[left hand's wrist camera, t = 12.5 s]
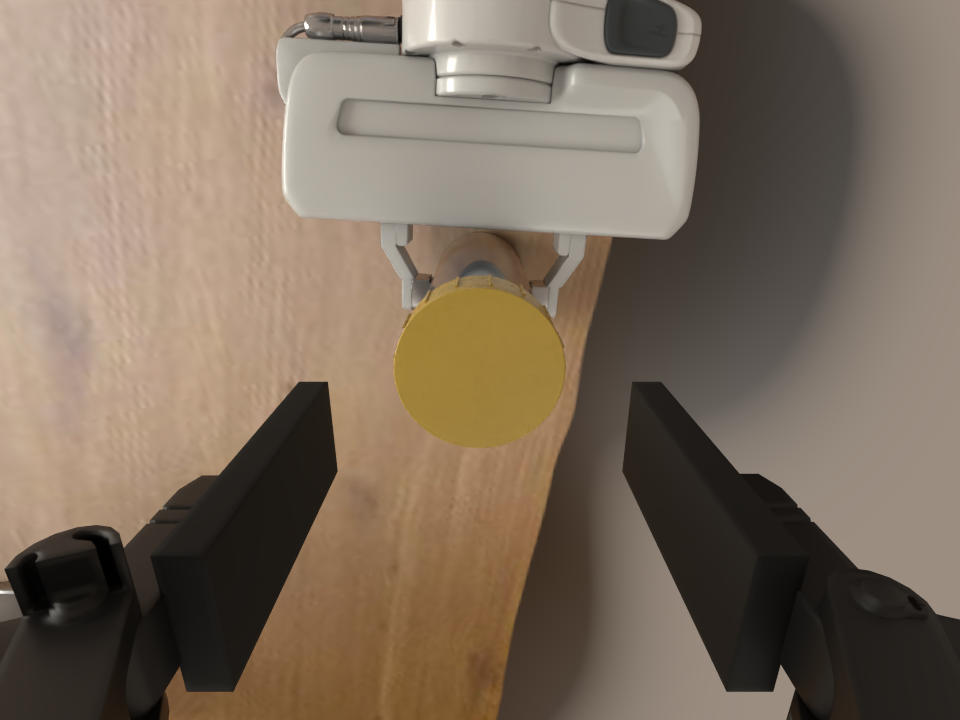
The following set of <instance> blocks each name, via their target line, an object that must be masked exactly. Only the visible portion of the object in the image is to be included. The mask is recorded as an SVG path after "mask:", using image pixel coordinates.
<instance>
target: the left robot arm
mask: <svg viewBox="0 0 960 720" xmlns="http://www.w3.org/2000/svg"><path fill="white" fill-rule="evenodd" d="M337 471H338V470H337V461H336V452H335V443H334V434H333V425H332V416H331V407H330V398H329V388H328V382H298V384H297V385H296V386H295V387H294V388H293V390H292V391H291V392H290V393H289V394H288V395H287V397H286V398H285V399H284V400H283V401H282V402H281V404H280V405H279V406H278V407H277V408H276V409H275V411H274V412H273V413H272V414H271V415H270V416H269V418H268V419H267V420H266V421H265V422H264V423H263V425H262V426H261V427H260V428H259V429H258V430H257V432H256V433H255V434H254V435H253V436H252V437H251V439H250V440H249V441H248V442H247V443H246V445H245V446H244V447H243V448H242V449H241V450H240V452H239V453H238V454H237V455H236V456H235V457H234V459H233V460H232V461H231V462H230V463H229V464H228V466H227V467H226V468H225V469H224V470H223V471H222V473H221V474H220V475H219V476H200V477H199V478H197V479H196V480H194V481H192V482H191V483H189V484H187V485H186V486H184V487H183V488H181V489H179V490H178V491H177V492H176V493H175V494H174V495H173V496H172V498H171V499H170V500H169V501H168V502H167V503H166V504H165V505H164V506H163V510H159V511H158V512H157V513H156V515H155V516H154V517H153V518H152V519H151V520H150V524H146V525H145V526H144V527H143V528H142V529H141V530H140V531H139V533H138V534H137V535H136V536H135V537H134V538H133V539H132V540H131V541H130V542H129V543H128V544H127V545H126V546H125V547H124V548H123V545H122V541H121V538H120V534H119V533H118V532H117V531H115V530H114V529H113V528H111V527H106V526H99V525H93V526H85V527H77V528H73V529H70V530H67V531H63V532H60V533H57V534H54V535H52V536H50V537H48V538H46V539H43V540H41V541H39V542H37V543H35V544H33V545H32V546H30V547H29V548H27V549H26V550H24V551H23V552H21V553H20V554H19V555H17V556H16V557H15V558H14V559H13V560H12V561H11V562H10V564H9V565H8V566H7V567H6V568H5V572H6V575H7V577H8V580H9V581H8V582H0V720H168V718H169V705H168V699H167V695H166V692H165V690H166V688H167V686H168V685H169V683H170V681H171V680H172V678H173V676H174V675H175V673H176V671H177V670H178V668H179V666H180V668H181V672H182V676H183V679H184V683H185V687H186V690H187V692H233V691H234V689H235V687H236V685H237V683H238V681H239V679H240V677H241V674H242V672H243V670H244V668H245V666H246V664H247V662H248V660H249V657H250V655H251V653H252V651H253V649H254V647H255V645H256V643H257V641H258V638H259V636H260V634H261V632H262V630H263V628H264V626H265V624H266V622H267V619H268V617H269V615H270V613H271V611H272V609H273V607H274V605H275V603H276V600H277V598H278V596H279V594H280V592H281V590H282V588H283V586H284V583H285V581H286V579H287V577H288V575H289V573H290V571H291V569H292V567H293V564H294V562H295V560H296V558H297V556H298V554H299V552H300V550H301V548H302V545H303V543H304V541H305V539H306V537H307V535H308V533H309V531H310V529H311V526H312V524H313V522H314V520H315V518H316V516H317V514H318V512H319V509H320V507H321V505H322V503H323V501H324V499H325V497H326V495H327V493H328V490H329V488H330V486H331V484H332V482H333V480H334V478H335V476H336V474H337ZM623 474H624V476H625V478H626V480H627V482H628V484H629V486H630V488H631V490H632V492H633V495H634V497H635V499H636V501H637V503H638V505H639V507H640V509H641V512H642V514H643V516H644V518H645V520H646V522H647V524H648V526H649V529H650V531H651V533H652V535H653V537H654V539H655V541H656V543H657V545H658V548H659V550H660V552H661V554H662V556H663V558H664V560H665V562H666V564H667V566H668V569H669V571H670V573H671V575H672V577H673V579H674V581H675V583H676V586H677V588H678V590H679V592H680V594H681V596H682V598H683V600H684V603H685V605H686V607H687V609H688V611H689V613H690V615H691V617H692V619H693V622H694V624H695V626H696V628H697V630H698V632H699V634H700V636H701V638H702V641H703V643H704V645H705V647H706V649H707V651H708V653H709V655H710V657H711V660H712V662H713V664H714V666H715V668H716V670H717V672H718V674H719V677H720V679H721V681H722V683H723V685H724V687H725V689H726V691H727V692H773V690H774V687H775V683H776V679H777V676H778V672H779V668H780V665H782V667H783V669H784V670H785V672H786V674H787V675H788V677H789V678H790V680H791V682H792V683H793V685H794V687H795V688H796V689H795V692H794V696H793V699H792V702H791V706H790V709H789V713H788V716H787V719H786V720H960V620H959V619H955V618H950V617H946V616H941V615H938V614H936V613H935V612H934V611H933V609H932V608H931V607H930V606H929V604H928V603H927V602H926V601H925V600H924V599H923V598H921V597H920V596H919V595H918V594H916V593H915V592H914V591H913V590H911V589H910V588H908V587H906V586H904V585H903V584H901V583H899V582H897V581H895V580H893V579H891V578H889V577H886V576H884V575H881V574H877V573H875V572H872V571H868V570H861V569H858V568H857V567H856V566H855V565H854V564H853V563H852V562H851V561H850V560H849V559H848V557H847V556H846V555H845V554H844V553H843V552H842V551H841V550H840V549H839V548H838V547H837V546H836V545H835V544H834V543H833V542H832V541H831V540H830V539H829V537H828V536H827V535H826V534H825V533H824V532H823V531H822V530H821V529H820V528H819V527H818V526H817V525H816V524H815V523H814V522H811V520H810V517H809V516H808V515H807V514H806V513H805V512H804V511H803V510H802V509H801V508H798V507H797V504H796V503H795V502H794V501H793V500H792V498H791V497H790V496H789V495H788V494H787V493H786V492H785V491H784V490H783V489H782V488H781V487H779V486H777V485H776V484H774V483H773V482H771V481H769V480H768V479H766V478H764V477H763V476H761V475H759V474H739V473H738V471H737V470H736V469H735V468H734V467H733V466H732V464H731V463H730V462H729V461H728V460H727V459H726V457H725V456H724V455H723V454H722V453H721V452H720V450H719V449H718V448H717V447H716V446H715V445H714V443H713V442H712V441H711V440H710V439H709V437H708V436H707V435H706V434H705V433H704V432H703V430H702V429H701V428H700V427H699V426H698V425H697V423H696V422H695V421H694V420H693V419H692V418H691V416H690V415H689V414H688V413H687V412H686V411H685V409H684V408H683V407H682V406H681V405H680V404H679V402H678V401H677V400H676V399H675V398H674V397H673V395H672V394H671V393H670V392H669V391H668V390H667V388H666V387H665V386H664V385H663V384H662V382H632V388H631V398H630V407H629V416H628V426H627V434H626V443H625V452H624V462H623Z"/></svg>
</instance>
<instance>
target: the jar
mask: <svg viewBox="0 0 960 720" xmlns="http://www.w3.org/2000/svg"><path fill="white" fill-rule="evenodd" d="M489 274H492V277H498V278H501V279H505V280H508V281H510V282H513V283H515V284H517V285H520V284H521V285H523V288H524V289H525V290H527V291H528V292H529V293H531V294H532V295H533V296H534V297H535V295H534V292H533V290H532V288H531V286H530V283H529V281H528V279H527V276H526V274H525V272H524V269H523V267H522V265H521V263H520V260H519V258H518V256H517V254H516V252H515V250H514V249H513V248H512V246H511V245H510V244H509V243H508V242H506V241H505V240H504V239H502V238H501V237H499V236H497V235H494V234H491V233H486V232H474V233H469V234H466V235H463V236H461V237H459V238H458V239H456V240H455V241H454V242H452V243H451V244H450V245H449V246H448V248H447V249H446V250H445V252H444V254H443V256H442V258H441V260H440V262H439V265H438V267H437V269H436V271H435V274H434V276H433V278H432V280H431V283H430V285H429V287H428V289H427V292H428V291H429V290H430V291H433V290H434V289H436V288H437V287H439V286H441V285H442V284H444V283H447V282H449V281H452V280H454V279H456V277H458V276H459V277H460V278H462V277H467V276H489ZM427 292H426V294H425V296H426V295H427ZM425 296H424V297H425ZM535 298H536V297H535Z"/></svg>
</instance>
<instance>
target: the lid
mask: <svg viewBox="0 0 960 720" xmlns="http://www.w3.org/2000/svg"><path fill="white" fill-rule="evenodd" d="M550 318H551V316H550V314H549V312H548V310H547V308H546V306H545V305H543V306H542V305H541V303H540V302H539V301H538V300H537V299H536V298H535V297H534V296H533V295H532V294H531V293H529V292H528V291H527V290H525V289H524V288H523V285H521V284H520V285H517V284H515V283H513V282H510V281H508V280H505V279H501V278H498V277H492V274H489V276H467V277H462V278H460V277H459V276H458V277H456V279H454V280H452V281H449V282H447V283H444V284H442V285H441V286H439V287H437V288H436V289H434V290H433V291H430V290H429V291H428V292H427V295H426V296H425V297H424V298H423V299H422V300H421V301H420V302H419V304H418V305H417V306H416V308H415V309H414V310H413V312H412V314H409V315H408V317H407V319H406V321H405V323H404V325H403V327H402V328H404V330H403V332H402V334H401V336H400V339H399V341H398V344H397V347H396V352H395V354H394V379H395V383H396V388H397V391H398V394H399V397H400V399H401V401H402V403H403V405H404V407H405V408H406V410H407V411H408V412H409V414H410V415H411V416H412V418H413V419H414V420H415V421H416V422H417V423H418V424H419V425H420V426H421V427H423V428H424V429H425V430H426V431H428V432H429V433H431V434H432V435H434V436H436V437H438V438H440V439H442V440H444V441H446V442H449V443H452V444H455V445H459V446H464V447H472V448H487V447H496V446H500V445H504V444H508V443H510V442H513V441H516V440H518V439H520V438H522V437H524V436H526V435H527V434H529V433H530V432H532V431H533V430H534V429H536V428H537V427H538V426H539V425H540V424H541V423H542V422H543V421H544V420H545V419H546V418H547V417H548V416H549V414H550V413H551V411H552V410H553V409H554V407H555V405H556V403H557V401H558V399H559V397H560V395H561V392H562V389H563V385H564V380H565V370H566V365H565V355H564V351H563V348H564V344H563V342H562V340H561V338H560V336H559V334H558V332H557V331H556V329H555V327H554V325H553V323H552V321H551V319H550Z"/></svg>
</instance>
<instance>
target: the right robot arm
mask: <svg viewBox="0 0 960 720" xmlns="http://www.w3.org/2000/svg"><path fill="white" fill-rule="evenodd" d="M701 29H702V25H701V19H700V17H699V15H698V14H697V13H696V12H695V11H694V10H693V9H691V8H690V7H688V6H686V5H684V4H682V3H680V2H678V1H675V0H402V15H401V17H398V18H396V17H380V16H362V17H361V16H356V17H355V16H354V17H342V16H335V15H334V14H331V13H323V12H318V13H310V14H306V15H305V18H304V22H299V23H296V24H294V25H292V26H291V27H289V28H288V29H287V30H286V31H285V33H284V34H283V35H282V37H281V38H280V40H279V42H278V45H277V49H276V63H277V78H278V88H279V93H280V96H281V99H282V101H283V103H284V104H285V106H286V107H285V116H284V126H283V141H282V190H283V195H284V198H285V199H286V201H287V202H288V203H289V205H290V206H291V207H292V209H293V210H294V211H295V212H296V213H297V215H298V216H300V217H302V218H314V219H330V220H347V221H363V222H380V223H381V246H382V248H383V250H384V252H385V253H386V255H387V257H388V259H389V260H390V262H391V264H392V265H393V267H394V269H395V271H396V272H397V274H398V276H399V278H402V308H403V309H405V310H414V309H415V308H416V306H417V305H418V304H419V302H420V301H421V300H422V299H423V298H424V296H425V294H426V292H427V289H428V287H429V285H430V283H431V280H432V274H422V273H418V272H417V270H416V268H415V266H414V264H413V262H412V260H411V258H410V256H409V254H408V252H407V250H406V248H405V247H404V246H406V245H407V244H408V243H409V242H410V241H411V240H412V238H413V225H429V226H446V227H462V228H479V229H495V230H512V231H528V232H545V233H554V239H553V249H554V250H555V251H556V252H557V253H558V254H559V255H560V256H559V257H558V259H557V260H556V262H555V263H554V265H553V266H552V268H551V269H550V271H549V272H548V274H547V275H546V276H545V278H544V279H543V280H544V281H542V280H529V283H530V286H531V288H532V290H533V292H534V295H535V297H536V299H537V300H538V301H539V302H540V303H541V305H542V306H543V305H545V306H546V308H547V310H548V312H549V314H550V316H551V318H555V315H556V310H557V301H558V292H559V288H561V287H562V286H563V285H564V283H565V282H566V281H567V279H568V278H569V277H570V275H571V274H572V273H573V271H574V270H575V269H576V267H577V266H578V265H579V263H580V262H581V261H582V259H583V258H584V252H585V245H586V237H587V235H594V236H611V237H628V238H644V239H661V240H666V239H669V238H670V237H672V236H673V235H674V234H675V233H676V232H677V231H678V230H679V228H680V227H681V226H682V225H683V224H684V223H685V222H686V220H687V218H688V216H689V212H690V207H691V203H692V197H693V191H694V184H695V177H696V168H697V158H698V146H699V126H700V117H699V107H698V102H697V98H696V95H695V93H694V91H693V89H692V87H691V86H690V84H689V83H688V82H687V81H686V80H685V79H684V78H683V77H681V76H679V75H678V74H675V73H677V72H678V71H679V70H681V69H683V68H684V67H685V66H686V65H688V64H689V63H690V62H691V61H692V60H693V58H694V57H695V55H696V52H697V49H698V46H699V42H700V36H701ZM303 32H306V35H307V37H308V38H311V39H307V38H294V37H295V36H296V35H298V34H300V33H303ZM337 40H343V41H337ZM345 40H346V41H345ZM351 41H354V42H351ZM401 44H402V49H401V46H400V45H401ZM402 55H403V56H402Z"/></svg>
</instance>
